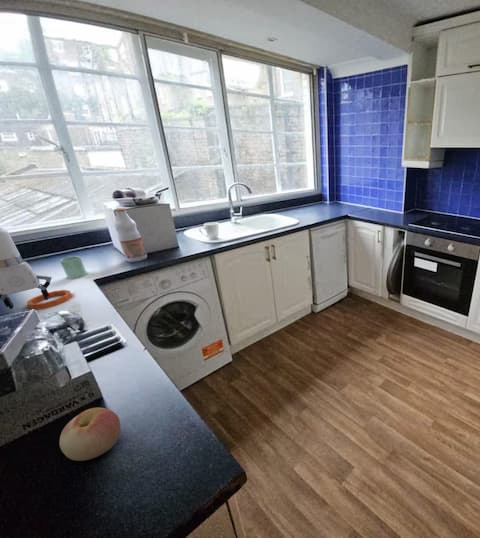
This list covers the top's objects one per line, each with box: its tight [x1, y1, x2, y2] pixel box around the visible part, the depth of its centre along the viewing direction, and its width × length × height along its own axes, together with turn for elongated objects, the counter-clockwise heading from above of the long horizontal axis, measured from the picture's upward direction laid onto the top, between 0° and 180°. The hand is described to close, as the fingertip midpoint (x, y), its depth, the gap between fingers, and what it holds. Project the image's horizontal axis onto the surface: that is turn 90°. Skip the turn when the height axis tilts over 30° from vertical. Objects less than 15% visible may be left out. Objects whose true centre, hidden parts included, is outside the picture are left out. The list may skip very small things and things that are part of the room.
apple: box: [59, 406, 121, 462], centre depth 58 cm, size 9×9×8 cm
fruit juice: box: [113, 207, 148, 263], centre depth 156 cm, size 9×9×28 cm
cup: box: [59, 255, 88, 280], centre depth 140 cm, size 7×7×9 cm
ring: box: [26, 289, 73, 310], centre depth 118 cm, size 12×12×2 cm
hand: (29, 302), depth 114 cm, fingers open, 9 cm apart
